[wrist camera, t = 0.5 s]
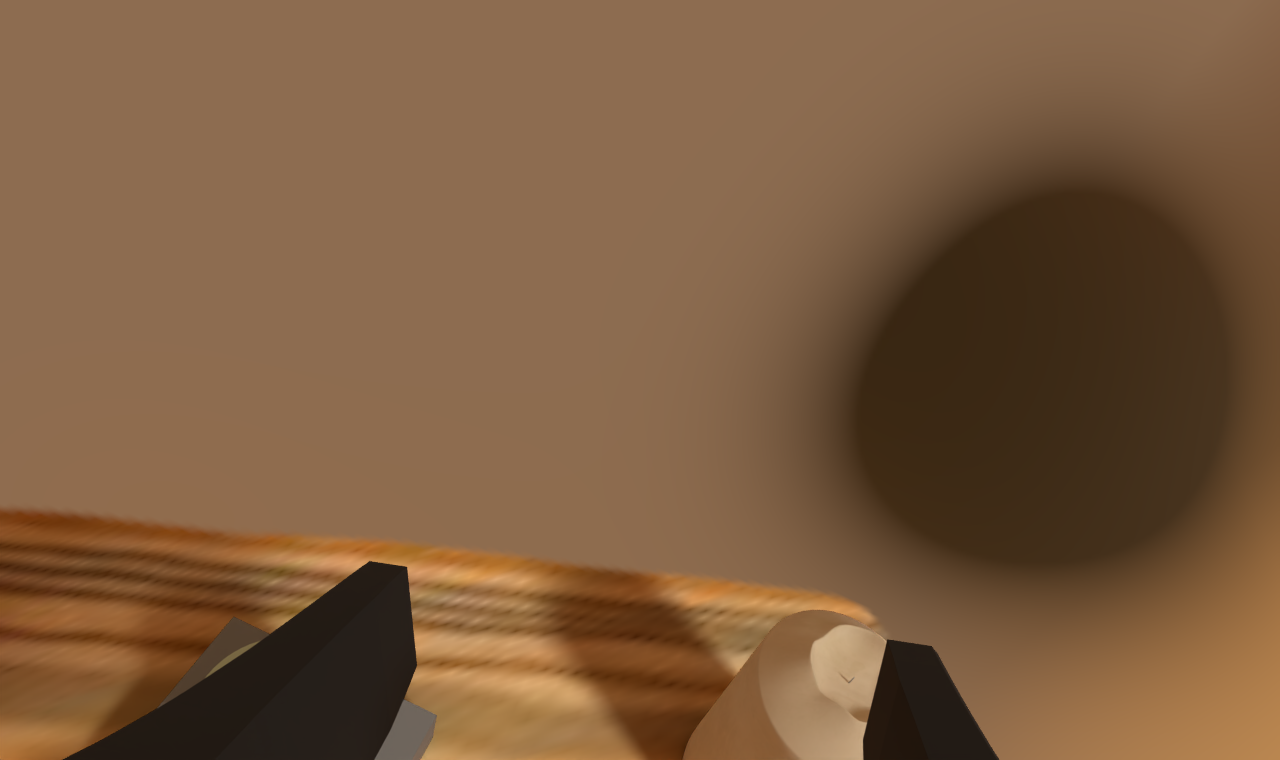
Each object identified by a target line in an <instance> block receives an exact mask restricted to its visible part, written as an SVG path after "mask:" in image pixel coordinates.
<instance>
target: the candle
mask: <svg viewBox="0 0 1280 760" xmlns="http://www.w3.org/2000/svg"><path fill="white" fill-rule="evenodd" d="M886 643H887V642H886V641H885V640H884V639H883V638H882V637H881V636H880V635H879V634H877V633H876V632H875V631H873V630H872V629H871V628H869V627H868V626H866V625H864V624H863V623H861V622H859V621H857V620H855V619H853V618H851V617H848V616H846V615H843V614H840V613H836V612H832V611H825V610H808V611H802V612H798V613H794V614H792V615H790V616H788V617H786V618H784V619H783V620H781V621H780V622H778V623H777V624H776V625H775V626H774V627H773V628H772V629H771V630H770V631H769V633H768V634H767V635H766V637H765V638H764V639H763V641H762V642H761V643H760V645H759V646H758V647H757V648H756V650H755V651H754V652H753V654H752V655H751V656H750V658H749V659H748V660H747V662H746V663H745V664H744V665H743V667H742V668H741V669H740V671H739V672H738V673H737V675H736V676H735V677H734V679H733V680H732V681H731V682H730V684H729V685H728V686H727V688H726V689H725V690H724V692H723V693H722V694H721V696H720V697H719V698H718V699H717V701H716V702H715V703H714V705H713V706H712V707H711V709H710V710H709V711H708V713H707V714H706V715H705V716H704V718H703V719H702V720H701V722H700V723H699V724H698V726H697V727H696V729H695V730H694V732H693V733H692V735H691V737H690V739H689V741H688V743H687V746H686V748H685V752H684V756H683V760H863V737H864V733H865V729H866V725H867V720H868V716H869V712H870V708H871V704H872V700H873V696H874V692H875V688H876V684H877V680H878V676H879V672H880V667H881V663H882V659H883V655H884V651H885V647H886Z"/></svg>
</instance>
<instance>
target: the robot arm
mask: <svg viewBox="0 0 1280 760" xmlns="http://www.w3.org/2000/svg"><path fill="white" fill-rule="evenodd" d="M416 667H417V661H416V651H415V641H414V631H413V622H412V612H411V602H410V592H409V582H408V572H407V567H405V566H398V565H391V564H385V563H378V562H372V561H369V562H368V563H366V564H365V565H364V566H362V567H361V568H359V569H358V570H357V571H355V572H354V573H353V574H351V575H350V576H348V577H347V578H346V579H344V580H343V581H342V582H340V583H339V584H338V585H336V586H335V587H334V588H332V589H331V590H330V591H328V592H327V593H326V594H324V595H323V596H322V597H320V598H319V599H317V600H316V601H315V602H313V603H312V604H311V605H309V606H308V607H307V608H305V609H304V610H303V611H301V612H300V613H299V614H297V615H296V616H295V617H293V618H292V619H290V620H289V621H288V622H286V623H285V624H283V625H282V626H281V627H279V628H278V629H276V630H275V631H274V632H272V633H271V634H270V635H268V636H267V637H265V638H264V639H263V640H261V641H260V642H258V643H257V644H256V645H254V646H253V647H251V648H250V649H249V650H247V651H246V652H244V653H243V654H241V655H239V656H238V657H236V658H235V659H233V660H232V661H230V662H229V663H227V664H226V665H224V666H223V667H221V668H220V669H218V670H217V671H215V672H214V673H212V674H211V675H209V676H208V677H206V678H205V679H203V680H202V681H200V682H199V683H197V684H196V685H194V686H193V687H191V688H190V689H188V690H187V691H185V692H183V693H182V694H180V695H178V696H177V697H175V698H174V699H172V700H170V701H169V702H167V703H165V704H164V705H162V706H160V707H159V708H157V709H155V710H154V711H152V712H150V713H149V714H147V715H145V716H143V717H141V718H140V719H138V720H136V721H134V722H133V723H131V724H129V725H127V726H126V727H124V728H122V729H120V730H118V731H117V732H115V733H113V734H111V735H110V736H108V737H106V738H104V739H102V740H100V741H98V742H97V743H95V744H93V745H91V746H89V747H87V748H85V749H83V750H81V751H79V752H77V753H75V754H73V755H71V756H69V757H67V758H65V759H63V760H374V759H375V758H376V756H377V754H378V752H379V750H380V749H381V747H382V745H383V743H384V741H385V739H386V738H387V736H388V734H389V732H390V730H391V728H392V726H393V723H394V721H395V719H396V716H397V714H398V712H399V709H400V707H401V705H402V702H403V700H404V697H405V695H406V692H407V690H408V687H409V685H410V682H411V679H412V677H413V674H414V672H415V669H416ZM863 760H999V758H998V757H997V756H996V754H995V752H994V751H993V749H992V747H991V746H990V744H989V743H988V741H987V739H986V738H985V736H984V734H983V733H982V731H981V730H980V728H979V726H978V724H977V723H976V721H975V719H974V718H973V716H972V714H971V713H970V711H969V709H968V707H967V706H966V704H965V702H964V701H963V699H962V697H961V696H960V694H959V692H958V690H957V688H956V686H955V685H954V683H953V681H952V680H951V678H950V676H949V674H948V672H947V670H946V668H945V667H944V665H943V663H942V661H941V659H940V657H939V655H938V654H937V652H936V651H935V650H934V649H933V647H932V646H927V645H920V644H914V643H907V642H901V641H894V640H887V643H886V647H885V651H884V655H883V659H882V663H881V667H880V672H879V676H878V680H877V684H876V688H875V692H874V696H873V700H872V704H871V708H870V712H869V716H868V720H867V725H866V729H865V733H864V737H863Z"/></svg>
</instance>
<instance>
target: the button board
mask: <svg viewBox="0 0 1280 760" xmlns="http://www.w3.org/2000/svg"><path fill="white" fill-rule="evenodd" d="M268 635H270V634H268V633H266V632H264V631H262V630H260V629H258V628H256V627H254V626H252V625H250V624H248V623H246V622H244V621H242V620H239V619H237V618H235V617H233V618H232V619H231V620H230V622H229V623H228V624H227V625H226V626H225V628H224V629H223V630H222V631H221V632H220V634H219V635H218V636H217V637H216V638H215V640H214V641H213V642H212V643H211V644H210V646H209V647H208V648H207V649H206V650H205V652H204V653H203V654H202V655H201V656H200V657H199V659H198V660H197V661H196V662H195V663H194V665H193V666H192V667H191V668H190V669H189V671H188V672H187V673H186V674H185V675H184V677H183V678H182V679H181V680H180V681H179V683H178V684H177V685H176V686H175V687H174V689H173V690H172V691H171V692H170V693H169V695H168V696H167V697H166V698H165V699H164V701H163V702H162V703H161V704H160V705H159V707H160V706H162V705H164V704H165V703H167V702H169V701H170V700H172V699H174V698H175V697H177V696H178V695H180V694H182V693H183V692H185V691H187V690H188V689H190V688H191V687H193V686H194V685H196V684H197V683H199V682H200V681H202V680H203V679H205V677H206V676H207V675H208V674H209V673H210V671H211V670H212V669H213V668H214V667H215V666H216V665H217V664H219V663H220V662H221V661H222V660H223V659H225V658H226V657H227V656H229V655H230V654H232V653H233V652H235V651H237V650H239V649H240V648H243V647H245V646H247V645H249V644H252V643H255V642H258V641H261V640H263V639H264V638H265V637H267V636H268ZM159 707H158V708H159ZM436 717H437V715H435V714H433V713H431V712H429V711H427V710H425V709H423V708H421V707H419V706H417V705H415V704H413V703H410V702H408V701H406V700H403V702H402V705H401V707H400V709H399V712H398V714H397V716H396V719H395V721H394V723H393V726H392V728H391V730H390V732H389V734H388V736H387V738H386V739H385V741H384V743H383V745H382V747H381V749H380V750H379V752H378V754H377V756H376V758H375V759H374V760H420V759H421V758H422V756H423V754H424V752H425V750H426V748H427V747H428V745H429V743H430V741H431V739H432V738H433V733H434V728H435V722H436Z"/></svg>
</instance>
